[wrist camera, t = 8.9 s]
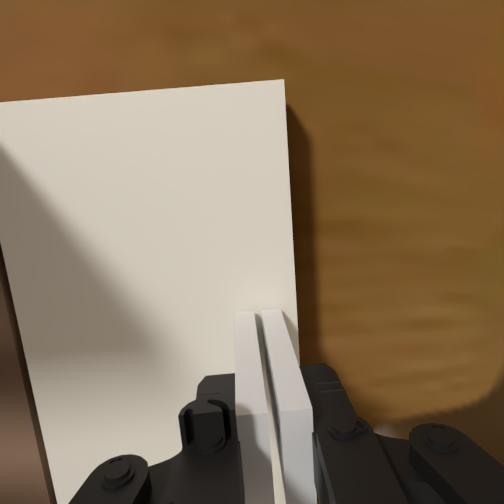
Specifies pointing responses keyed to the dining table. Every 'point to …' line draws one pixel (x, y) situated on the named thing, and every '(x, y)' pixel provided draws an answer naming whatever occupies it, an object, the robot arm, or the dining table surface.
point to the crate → (19, 416)
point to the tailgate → (142, 258)
